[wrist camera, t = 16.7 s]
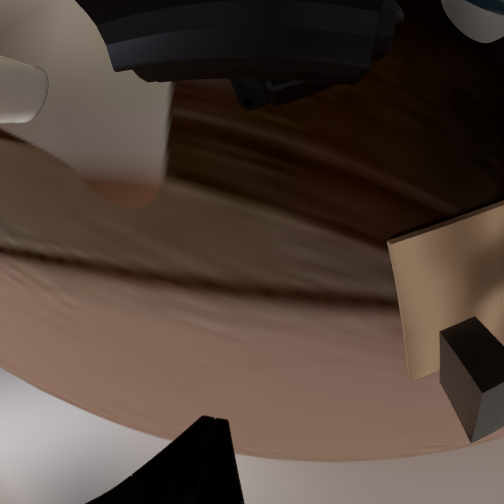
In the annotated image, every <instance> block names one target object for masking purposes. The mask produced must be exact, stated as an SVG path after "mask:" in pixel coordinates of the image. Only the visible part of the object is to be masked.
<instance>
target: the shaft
mask: <svg viewBox="0 0 504 504" xmlns="http://www.w3.org/2000/svg"><path fill="white" fill-rule="evenodd" d="M439 340H440V383H441V385H442V387H443V389H444V391H445V392H446V394H447V396H448V398H449V400H450V402H451V404H452V406H453V408H454V410H455V412H456V414H457V416H458V418H459V420H460V422H461V424H462V426H463V428H464V430H465V432H466V434H467V437H468V439H469V441H470V443H473V442H475V441H477V440H479V439H481V438H483V437H485V436H487V435H489V434H491V433H493V432H494V431H496V430H498V429H500V428H502V427H503V426H504V346H503V345H502V344H501V343H500V342H499V341H498V339H497V338H496V337H495V336H494V335H493V334H492V333H491V332H490V331H489V330H488V329H487V328H486V327H485V326H484V325H483V324H482V323H481V322H480V321H479V320H478V319H477V318H476V317H475V316H474V317H471V318H469V319H467V320H465V321H462V322H460V323H458V324H455V325H453V326H451V327H448V328H446V329H444V330H441V331H439Z"/></svg>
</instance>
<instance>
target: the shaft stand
mask: <svg viewBox="0 0 504 504" xmlns="http://www.w3.org/2000/svg"><path fill="white" fill-rule="evenodd" d="M387 244H388V249H389V253H390V258H391V263H392V268H393V273H394V278H395V284H396V290H397V295H398V302H399V308H400V315H401V322H402V329H403V337H404V346H405V356H406V367H407V375H408V377H409V380H410V381H413V380H415V379H418V378H421V377H423V376H426V375H429V374H431V373H434V372H436V371H439V370H440V340H439V331H441V330H444V329H446V328H448V327H451V326H453V325H455V324H458V323H460V322H462V321H465V320H467V319H469V318H471V317H474V316H475V317H476V318H477V319H478V320H479V321H480V322H481V323H482V324H483V325H484V326H485V327H486V328H487V329H488V330H489V331H490V332H491V333H492V334H493V335H494V336H495V337H496V338H497V339H498V341H499V342H501V341H503V340H504V200H503V201H501V202H498V203H495V204H492V205H490V206H487V207H484V208H481V209H478V210H476V211H473V212H470V213H467V214H464V215H461V216H458V217H456V218H453V219H450V220H447V221H444V222H441V223H438V224H435V225H432V226H429V227H426V228H423V229H420V230H417V231H414V232H411V233H408V234H405V235H402V236H399V237H396V238H393V239H390V240H387Z"/></svg>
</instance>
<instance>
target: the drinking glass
mask: <svg viewBox="0 0 504 504" xmlns="http://www.w3.org/2000/svg"><path fill="white" fill-rule="evenodd" d="M47 92H48V78H47V75H46V73H45V72H44V70H43V69H41V68H39V67H35V66H31V65H27V64H24V63H21V62H18V61H15V60H12V59H9V58H6V57H3V56H0V124H1V123H25V122H28V121H30V120H31V119H33V118H34V117H35V116H36V115H37V114H38V113H39V111H40V110H41V108H42V106H43V104H44V102H45V99H46V96H47Z"/></svg>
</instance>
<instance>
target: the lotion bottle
mask: <svg viewBox="0 0 504 504" xmlns="http://www.w3.org/2000/svg"><path fill="white" fill-rule="evenodd" d="M441 2H442V6H443V8H444V11H445V13H446V14H447V16H448V18H449V19H450V20H451V22H452V23H453V24H454V25H455V26H456V27H457V28H458V29H459V30H460V31H461V32H462V33H464V34H465V35H466V36H468V37H469V38H471V39H473V40H475V41H478V42H481V43H490V42H493V41H495V40H497V39H499V38H501V37H503V36H504V0H441Z"/></svg>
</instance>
